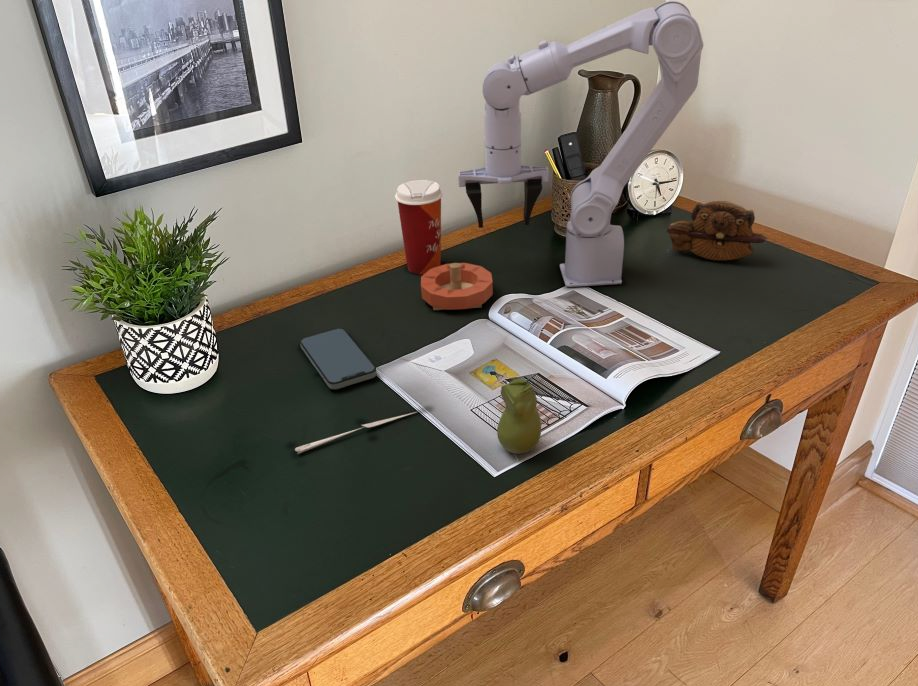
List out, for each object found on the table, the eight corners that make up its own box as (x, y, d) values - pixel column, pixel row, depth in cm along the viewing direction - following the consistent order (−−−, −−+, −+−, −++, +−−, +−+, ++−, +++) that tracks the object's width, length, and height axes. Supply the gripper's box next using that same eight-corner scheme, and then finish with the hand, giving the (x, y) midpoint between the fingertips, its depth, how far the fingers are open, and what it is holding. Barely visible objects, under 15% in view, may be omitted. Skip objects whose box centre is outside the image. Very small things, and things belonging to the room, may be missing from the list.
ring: (490, 273, 136) (489, 261, 135) (494, 307, 127) (494, 294, 125) (422, 277, 137) (421, 264, 135) (421, 311, 127) (420, 298, 126)
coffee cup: (446, 276, 139) (442, 195, 130) (400, 278, 139) (392, 197, 130) (446, 255, 145) (442, 177, 137) (402, 257, 146) (395, 179, 137)
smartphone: (343, 326, 124) (378, 369, 113) (344, 335, 125) (380, 379, 114) (297, 339, 122) (329, 384, 110) (299, 348, 123) (330, 394, 111)
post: (479, 284, 135) (478, 252, 132) (481, 307, 129) (481, 275, 125) (432, 287, 136) (430, 255, 132) (433, 310, 129) (431, 277, 126)
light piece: (434, 410, 105) (299, 456, 99) (434, 416, 106) (300, 462, 99) (421, 395, 108) (289, 439, 102) (421, 401, 109) (290, 445, 102)
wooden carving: (662, 258, 139) (668, 205, 134) (666, 247, 143) (672, 195, 137) (761, 269, 134) (772, 214, 128) (762, 258, 137) (773, 204, 132)
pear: (547, 455, 98) (549, 390, 92) (509, 467, 97) (509, 402, 91) (527, 429, 102) (528, 366, 97) (490, 440, 101) (488, 377, 95)
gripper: (458, 155, 121) (461, 236, 129) (552, 149, 121) (549, 231, 129) (456, 140, 127) (459, 219, 135) (546, 135, 127) (544, 214, 134)
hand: (503, 224), depth 132 cm, fingers open, 7 cm apart
